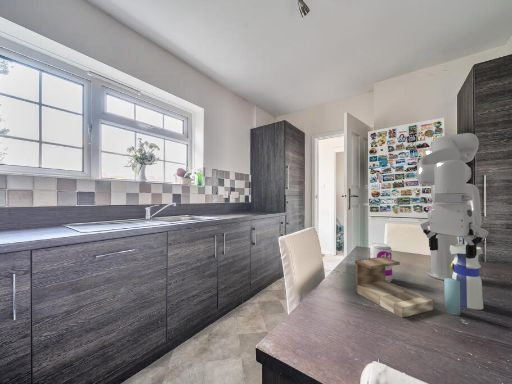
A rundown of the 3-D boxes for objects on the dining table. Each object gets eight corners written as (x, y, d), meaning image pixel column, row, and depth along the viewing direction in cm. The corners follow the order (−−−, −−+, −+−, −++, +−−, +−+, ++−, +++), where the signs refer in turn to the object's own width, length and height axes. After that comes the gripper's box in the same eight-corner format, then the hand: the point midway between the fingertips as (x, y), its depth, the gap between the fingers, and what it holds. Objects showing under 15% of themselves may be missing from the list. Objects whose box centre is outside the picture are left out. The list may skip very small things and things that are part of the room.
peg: (449, 308, 69) (448, 277, 69) (463, 314, 66) (462, 281, 66) (442, 310, 68) (441, 278, 68) (455, 316, 64) (455, 283, 65)
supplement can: (395, 284, 88) (395, 247, 88) (374, 282, 90) (373, 246, 90) (387, 276, 96) (387, 243, 96) (367, 275, 98) (367, 242, 98)
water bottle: (444, 300, 74) (443, 228, 75) (457, 295, 78) (456, 227, 78) (475, 312, 67) (474, 232, 67) (489, 306, 70) (487, 230, 71)
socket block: (383, 286, 85) (382, 256, 85) (433, 309, 68) (432, 271, 68) (355, 292, 81) (355, 260, 81) (401, 317, 64) (401, 277, 64)
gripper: (494, 200, 60) (496, 260, 60) (428, 199, 77) (429, 246, 76) (478, 200, 58) (480, 263, 58) (413, 199, 74) (414, 248, 74)
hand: (451, 253), depth 67 cm, fingers open, 9 cm apart
